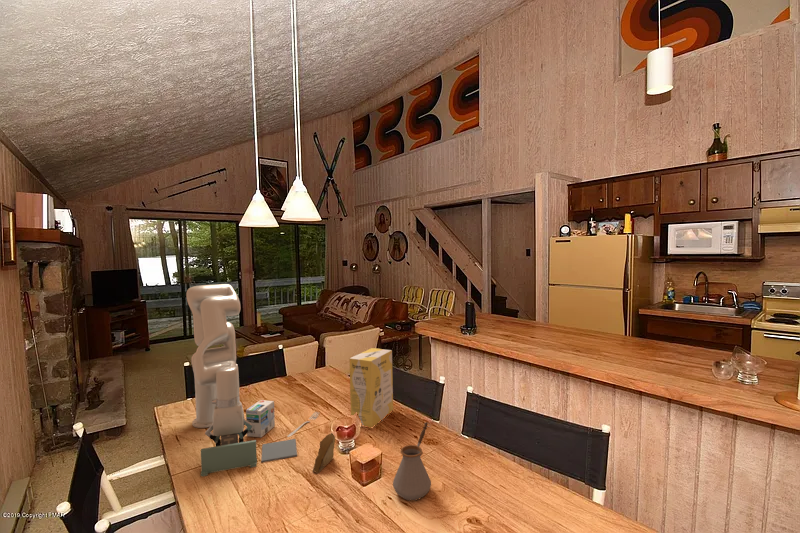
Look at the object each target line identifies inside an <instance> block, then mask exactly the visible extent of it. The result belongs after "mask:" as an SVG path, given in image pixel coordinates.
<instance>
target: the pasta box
mask: <svg viewBox="0 0 800 533" xmlns="http://www.w3.org/2000/svg"><path fill="white" fill-rule="evenodd" d="M348 359H349V390H350V391H349V392H350V394H349V395H350V396H349V397H350V398H349V399H350V416H351V415H354V414H355V413H356V412H357V414H358V416H359V418H360V420H361V423H362V425H364V426H368V427H373V426H374V425H376V424H377V423H378V422H379V421H380V420H382V419H383V418H384V417H385V416H386V415H387V414H389V413H390V412H391V411H392V410H393V411H394V393H393V392H394V389H393V388H394V387H393V384H394V383H393V381H394V380H393V350H391V349H386V348H385V349H382V348H375V347H371V348H369V349H367V350H365V351H362V352H360V353H359V354H358V353H357V354H355V355H353V356H351V357H349V358H348ZM382 421H383V420H382ZM376 426H377V425H376Z"/></svg>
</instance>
